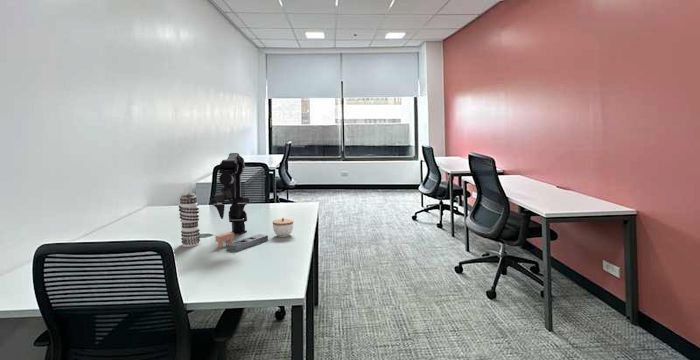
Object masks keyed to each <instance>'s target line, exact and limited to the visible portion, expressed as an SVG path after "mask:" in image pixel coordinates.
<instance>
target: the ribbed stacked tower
mask: <svg viewBox="0 0 700 360" xmlns="http://www.w3.org/2000/svg"><path fill="white" fill-rule="evenodd" d="M197 197H198V196H197V195H196V194H195V193H193V192H185V193H182V194H181V195H180V197H179V205H178V211H179V219H180V223H181V231H180V233H181V234H180V236H181V239H180V240H181V243H182V244H181V246H182V247H188V248H189V247H195V246H199V245H200V244H201V236H200V227H199V221H200V218H199V217H200V215H198V214H199V213H200V211H199V210H200V208H199V207H198V206H199V203H198V198H197Z"/></svg>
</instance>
